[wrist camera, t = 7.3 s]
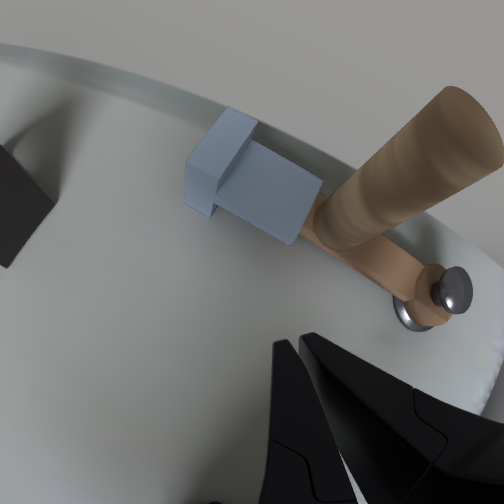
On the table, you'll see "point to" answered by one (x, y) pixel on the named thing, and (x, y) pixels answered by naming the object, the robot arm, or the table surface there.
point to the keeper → (248, 179)
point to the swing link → (407, 196)
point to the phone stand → (18, 207)
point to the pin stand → (442, 296)
